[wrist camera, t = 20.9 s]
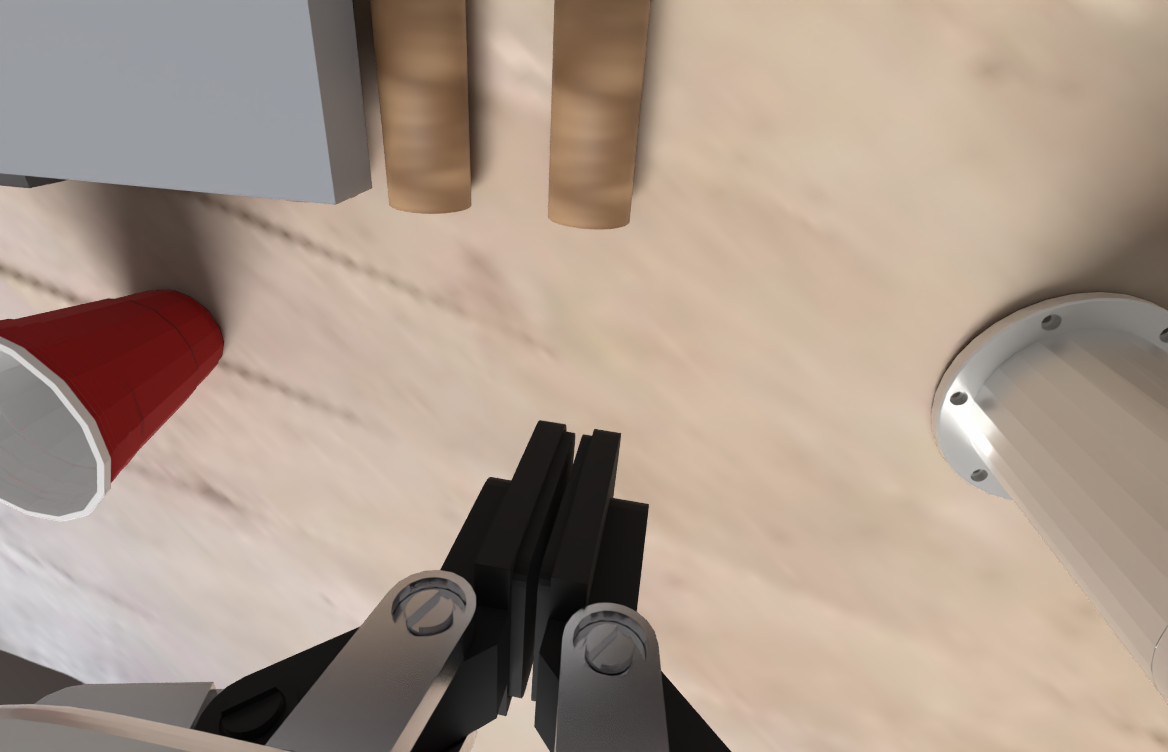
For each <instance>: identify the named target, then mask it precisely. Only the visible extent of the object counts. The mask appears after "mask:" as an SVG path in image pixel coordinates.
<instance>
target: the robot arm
mask: <svg viewBox="0 0 1168 752" xmlns="http://www.w3.org/2000/svg"><path fill="white" fill-rule="evenodd" d="M931 414H932V431H933V435H934V438H935V442H936V445H937V447H938V449H939V450H940V452H941V454H942V455H943V457H944V459H945V460H946V462H947V463H948V464H949V466H950V467H951V468H952V469H953V471H954V472H955V473H956V474H957V475H958V476H959V477H960V478H961V479H963V480H964V481H965V482H966V483H967V484H969V485H970V486H972V487H974V488H976V489H979V490H981V491H983V492H985V493H987V494H989V495H993V496H996V497H1000V498H1003V499H1007V500H1013V501H1014V502H1015V504H1016V505H1017V506H1018V508H1019V509H1020V510H1021V512H1022V513H1023V514H1024V516H1025V517H1026V518H1027V520H1028V521H1029V522H1030V524H1031V525H1032V526H1033V528H1034V529H1035V530H1036V531H1037V533H1038V534H1039V535H1040V537H1041V538H1042V539H1043V541H1044V542H1045V543H1046V545H1047V546H1048V547H1049V549H1050V550H1051V551H1052V553H1053V554H1054V555H1055V556H1056V558H1057V559H1058V560H1059V562H1060V563H1061V564H1062V566H1063V567H1064V568H1065V570H1066V571H1067V572H1068V574H1069V575H1070V576H1071V578H1072V579H1073V580H1074V582H1075V583H1076V584H1077V585H1078V587H1079V588H1080V589H1081V591H1082V592H1083V593H1084V595H1085V596H1086V597H1087V599H1088V600H1089V601H1090V603H1091V604H1092V605H1093V607H1094V608H1095V609H1096V611H1097V612H1098V613H1099V614H1100V616H1101V617H1102V618H1103V620H1104V621H1105V622H1106V624H1107V625H1108V626H1109V628H1110V629H1111V630H1112V632H1113V633H1114V634H1115V636H1116V637H1117V638H1118V639H1119V641H1120V642H1121V643H1122V645H1123V646H1124V647H1125V649H1126V650H1127V651H1128V653H1129V654H1130V655H1131V657H1132V658H1133V659H1134V661H1135V662H1136V663H1137V665H1138V666H1139V667H1140V668H1141V670H1142V671H1143V672H1144V674H1145V675H1146V676H1147V678H1148V679H1149V680H1150V682H1151V683H1152V684H1153V686H1154V687H1155V688H1156V690H1157V691H1158V692H1159V693H1160V695H1161V696H1162V697H1163V699H1164V700H1165V701H1166V703H1167V704H1168V310H1166V309H1164V308H1162V307H1160V306H1158V305H1156V304H1154V303H1152V302H1150V301H1147V300H1144V299H1140V298H1137V297H1134V296H1130V295H1127V294H1117V293H1106V292H1093V293H1078V294H1070V295H1066V296H1061V297H1057V298H1052V299H1048V300H1044V301H1042V302H1039V303H1036V304H1034V305H1031V306H1028V307H1026V308H1023V309H1020V310H1018V311H1016V312H1015V313H1013V314H1011V315H1009V316H1007V317H1005V318H1003V319H1002V320H1000V321H998V322H996V323H995V324H993V325H992V326H991V327H989V328H988V329H986V330H985V331H984V332H982V333H981V334H980V335H978V336H977V337H976V338H974V339H973V340H972V341H971V342H970V343H969V344H968V345H967V346H966V347H965V348H964V349H963V350H962V351H961V352H960V353H959V355H958V356H957V357H956V358H955V360H954V361H953V362H952V364H951V365H950V367H949V368H948V369H947V371H946V372H945V374H944V376H943V378H942V380H941V382H940V384H939V387H938V389H937V391H936V393H935V398H934V402H933V407H932V411H931ZM620 440H621V433H616V432H610V431H604V430H598V429H594V432H593V435H592V436H590V435H584V434H583V435H582V438H581V441H580V444H579V448H578V451H577V454H576V457H575V460H574V463H573V458H574V446H575V433H571V432H566V424H560V423H554V422H547V421H541V420H540V421H538V423H537V425H536V427H535V430H534V432H533V434H532V436H531V438H530V441H529V443H528V445H527V447H526V449H525V452H524V454H523V456H522V458H521V461H520V463H519V465H518V467H517V469H516V472H515V474H514V476H513V478H512V480H505V479H499V478H493V477H490V478H488V479H487V481H486V482H485V484H484V486H483V488H482V490H481V492H480V494H479V496H478V497H477V499H476V501H475V503H474V505H473V507H472V509H471V511H470V513H469V515H468V517H467V519H466V521H465V523H464V525H463V527H462V529H461V531H460V533H459V535H458V536H457V538H456V540H455V542H454V544H453V546H452V548H451V550H450V552H449V554H448V556H447V558H446V560H445V562H444V564H443V566H442V568H441V570H432V571H423V572H420V573H416V574H413V575H410V576H408V577H407V578H405V579H403V580H401V581H399V582H398V583H397V584H396V585H395V586H394V587H393V588H392V589H391V590H390V591H389V592H388V593H387V594H386V595H385V597H384V598H383V599H382V600H381V602H380V603H379V604H378V605H377V607H376V608H375V609H374V610H373V612H372V613H371V614H370V615H369V617H368V618H367V619H366V620H365V622H364V623H363V624H362V625H361V626H360V627H358V628H356V629H353V630H351V631H349V632H347V633H344V634H342V635H340V636H337V637H335V638H333V639H330V640H328V641H326V642H324V643H321V644H319V645H317V646H314V647H312V648H310V649H307V650H305V651H303V652H301V653H298V654H296V655H294V656H291V657H289V658H287V659H284V660H282V661H280V662H278V663H275V664H273V665H271V666H268V667H266V668H264V669H261V670H259V671H257V672H255V673H252V674H250V675H248V676H245V677H243V678H242V679H240V680H238V681H236V682H235V683H233V684H231V685H229V686H228V687H226V688H225V689H215V685H214V682H185V683H127V684H84V685H79V686H73V687H67V688H64V689H62V690H60V691H57V692H55V693H52V694H50V695H48V696H45V697H44V698H42V699H41V700H39V701H38V702H36V703H35V704H29V705H28V704H24V705H0V752H470V751H471V749H472V747H473V745H474V742H475V739H476V735H477V729H479V728H481V727H482V726H484V725H486V724H487V723H489V722H491V721H492V720H494V719H496V718H497V715H498V714H499V715H503V716H506V715H507V712H508V708H509V705H510V702H511V698H512V696H513V697H518V698H522V697H523V695H524V693H525V689H526V686H527V682H528V678H529V675H530V671H531V668H532V664H533V677H532V695H531V700H532V701H536V709H535V725H534V727H535V728H536V730H537V731H538V733H539V735H540V736H541V738H542V739H543V741H544V743H545V744H546V746H547V748H548V749H549V751H550V752H731V751H730V750H729V748H728V747H727V746H726V745H725V744H724V743H723V742H722V740H721V739H720V738H719V737H718V736H717V735H716V734H715V732H714V731H713V730H712V729H711V728H710V727H709V725H708V724H707V723H706V722H705V721H704V720H703V719H702V717H701V716H700V715H699V714H698V713H697V712H696V710H695V709H694V708H693V707H692V706H691V705H690V704H689V702H688V701H687V700H686V699H685V698H684V697H683V695H682V694H681V693H680V692H679V691H678V690H677V689H676V687H675V686H674V685H673V684H672V683H671V682H670V680H669V679H668V678H667V677H666V676H665V675H664V674H663V672H662V671H661V665H660V655H659V646H658V642H657V638H656V634H655V631H654V630H653V628H652V627H651V626H650V624H649V623H648V621H647V620H646V619H645V618H644V617H642V616H641V615H640V614H639V613H638V612H637V604H638V595H639V587H640V578H641V569H642V561H643V552H644V543H645V535H646V526H647V517H648V508H649V504H645V503H639V502H633V501H627V500H621V499H615V498H613V495H614V487H615V479H616V471H617V463H618V456H619V448H620Z"/></svg>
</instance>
